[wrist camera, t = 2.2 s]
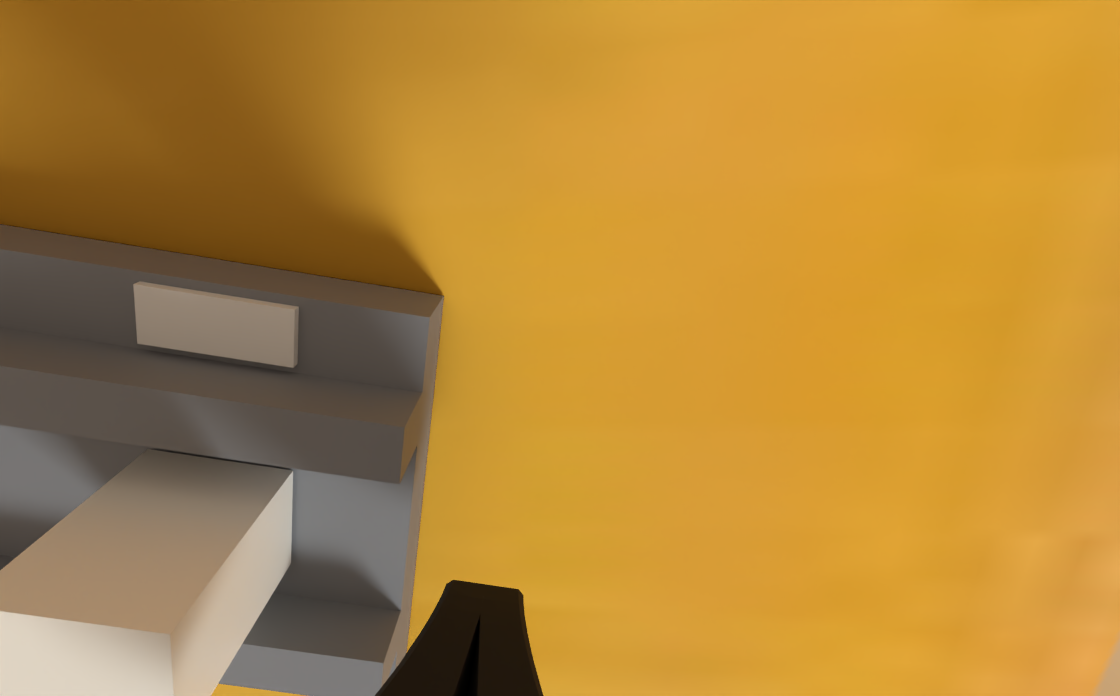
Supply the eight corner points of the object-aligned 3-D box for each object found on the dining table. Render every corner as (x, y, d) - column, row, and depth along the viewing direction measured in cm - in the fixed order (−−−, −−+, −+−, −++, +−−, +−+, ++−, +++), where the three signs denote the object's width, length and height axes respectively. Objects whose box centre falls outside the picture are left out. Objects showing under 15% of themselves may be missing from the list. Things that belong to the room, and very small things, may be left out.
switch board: (406, 652, 17) (375, 757, 15) (-216, 566, 17) (-373, 659, 14) (444, 295, 14) (412, 345, 11) (-341, 169, 13) (-584, 188, 10)
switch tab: (290, 563, 15) (177, 751, 10) (154, 543, 14) (-18, 725, 10) (293, 470, 14) (170, 634, 10) (147, 448, 14) (-43, 605, 9)
